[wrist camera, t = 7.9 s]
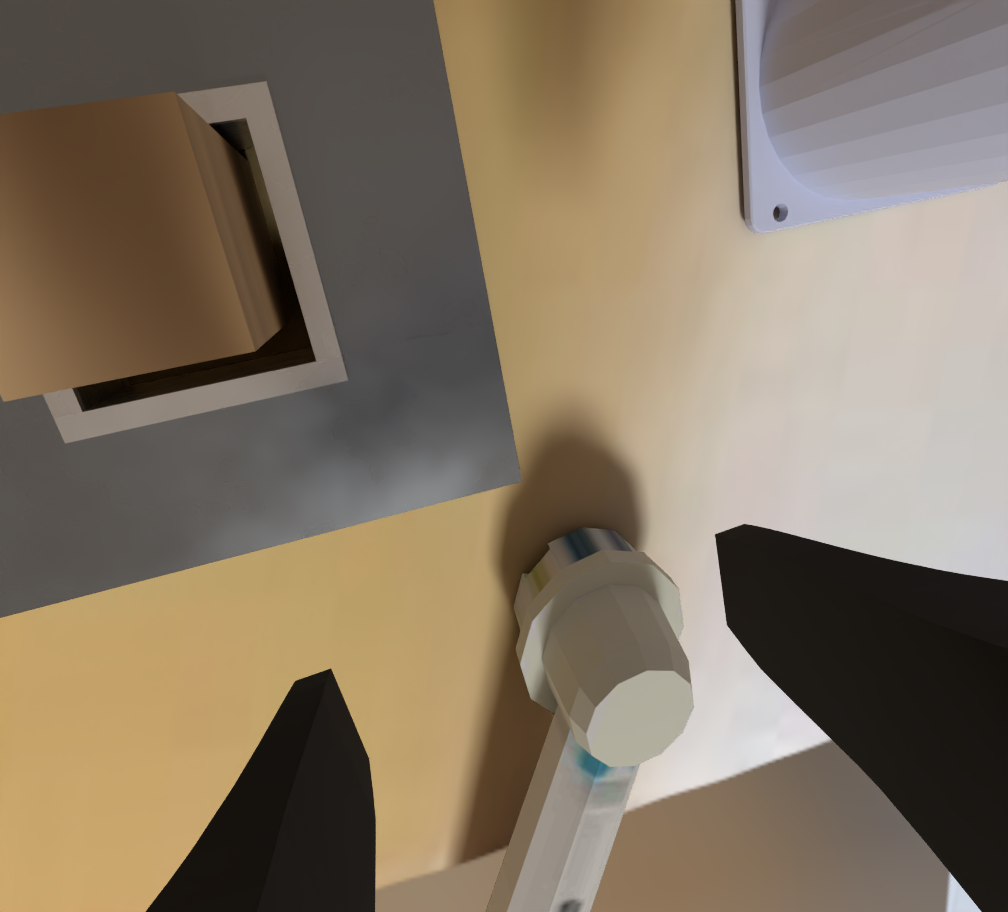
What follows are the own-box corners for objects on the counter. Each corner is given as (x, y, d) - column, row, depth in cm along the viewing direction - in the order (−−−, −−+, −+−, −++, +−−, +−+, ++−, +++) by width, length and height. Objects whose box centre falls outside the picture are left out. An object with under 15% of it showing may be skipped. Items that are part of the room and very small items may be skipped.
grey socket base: (394, -81, 15) (404, -166, 12) (498, 450, 20) (523, 484, 17) (-270, -13, 13) (-461, -98, 10) (27, 568, 17) (-40, 631, 14)
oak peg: (249, 162, 16) (174, 91, 9) (293, 318, 17) (255, 351, 11) (83, 187, 15) (-123, 130, 9) (143, 347, 16) (3, 401, 10)
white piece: (425, 1156, 24) (596, 657, 14) (413, 958, 29) (528, 511, 20) (551, 1130, 25) (786, 660, 15) (516, 946, 31) (669, 524, 21)
